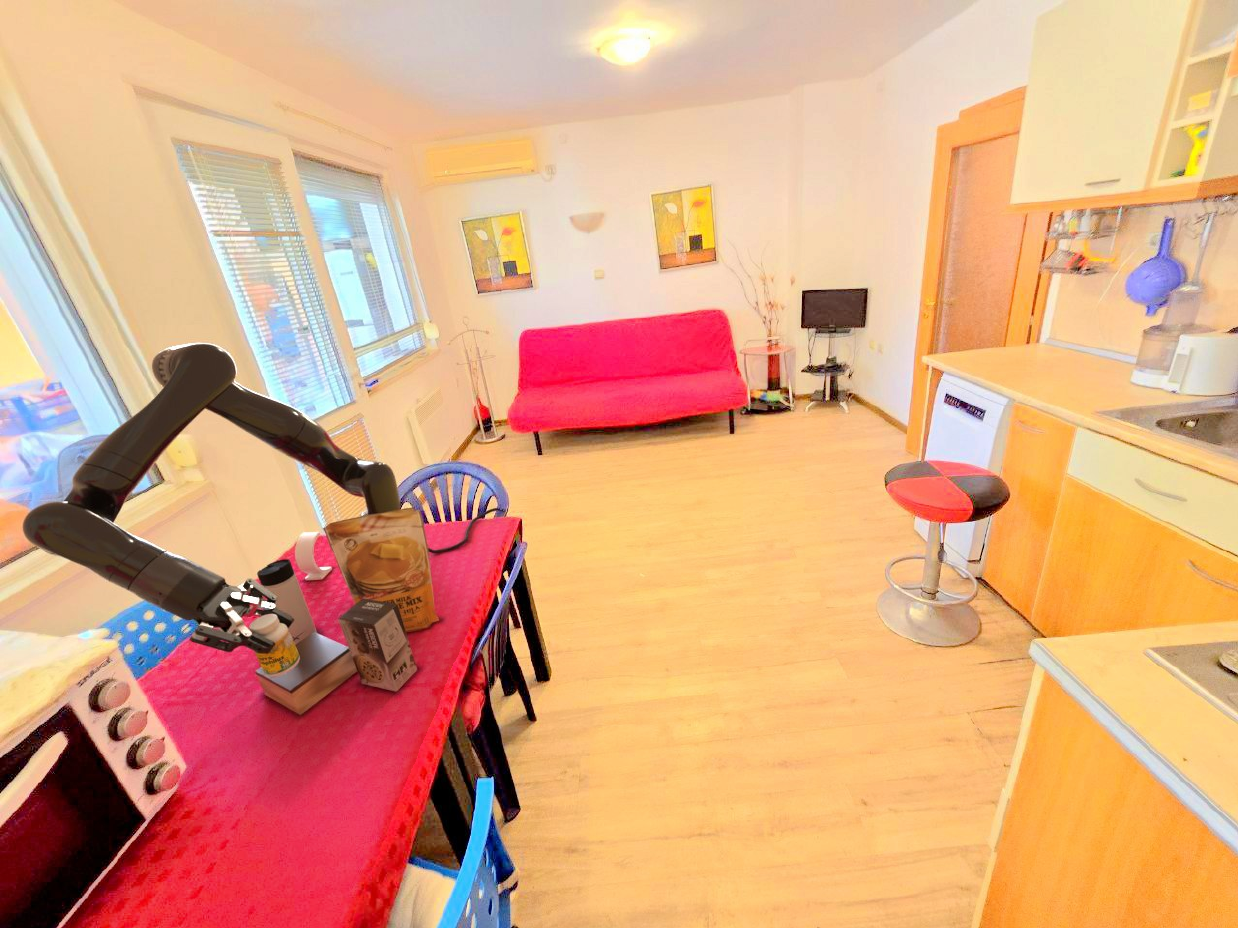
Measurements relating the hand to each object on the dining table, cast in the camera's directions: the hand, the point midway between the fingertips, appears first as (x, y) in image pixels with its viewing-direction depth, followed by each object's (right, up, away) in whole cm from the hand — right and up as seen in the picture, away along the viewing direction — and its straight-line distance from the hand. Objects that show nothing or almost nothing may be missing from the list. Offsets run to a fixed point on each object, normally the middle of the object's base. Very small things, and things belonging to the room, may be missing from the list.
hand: (281, 636), depth 84 cm
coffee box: (+11, -14, +16) cm, 24 cm away
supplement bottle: (-1, -6, +2) cm, 7 cm away
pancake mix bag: (+7, -8, +31) cm, 33 cm away
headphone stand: (-26, -2, +55) cm, 61 cm away
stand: (-5, -15, +17) cm, 23 cm away
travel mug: (-15, -11, +29) cm, 35 cm away
